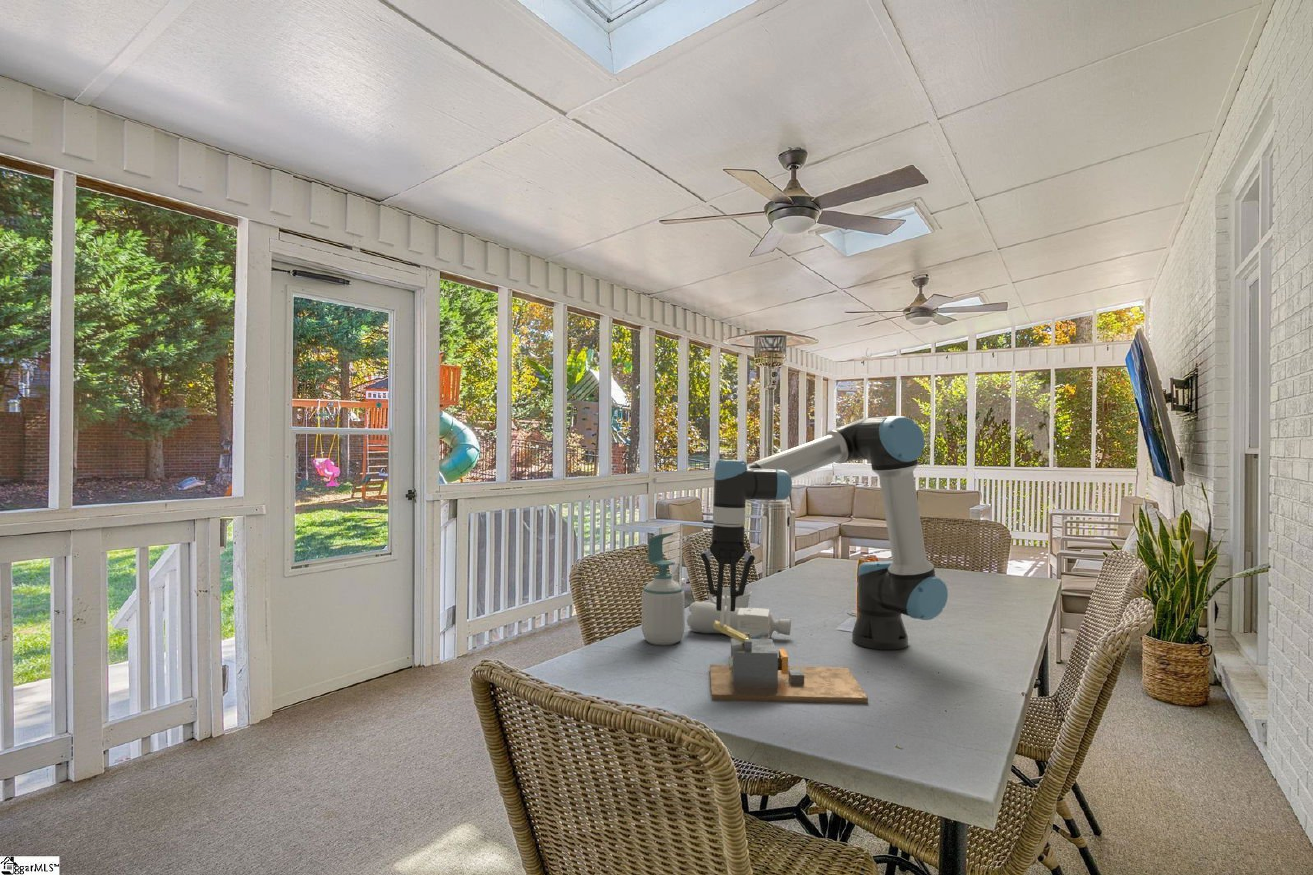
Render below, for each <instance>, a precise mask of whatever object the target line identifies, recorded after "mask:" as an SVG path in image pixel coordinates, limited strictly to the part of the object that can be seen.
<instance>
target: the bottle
mask: <svg viewBox="0 0 1313 875" xmlns="http://www.w3.org/2000/svg"><path fill="white" fill-rule="evenodd" d="M739 609H740V608H736V607H735V611H734V612H733V611H730V626H729V627H731V628H733V629H735V630H737V613H738V611H739ZM688 611H689V612H690V614H689V615H688V616H687V619H686V621H687V623H686V624H687V625H688V627H689V629H690V630H691V631H692V632H693V633H701V634H720V635H725V634H724V633H722V632H720V631H718V630H717V629H715V628H714V625H713V623H714V621H715V620H717V621H719V622H720V620H721V611H717V609H716V604H714V603H712V602H708V601H707V602H706V601H698V600H696V601H694V602H692V603H691V604H689V607H688ZM726 613H727V606H725V612H724V624H725V625H726ZM769 615H770V637H772V636H773V633H774V632H777V634H778V635H780V634H782V635H786V636H791V629H792V628H791V627H792V625H791V624H792V620H791V618H787V619H785V618H783V619H782V618H779V619H775V618H774V615H773V614H772V613H771V612H769ZM770 637H769V638H770Z"/></svg>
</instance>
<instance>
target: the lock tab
mask: <svg viewBox="0 0 1313 875" xmlns="http://www.w3.org/2000/svg"><path fill="white" fill-rule="evenodd" d="M713 625H714V628H715V629H717V630H718V631H720V632H722V633H724V634H723V635H726V636H729V637H731V638H734V639H736V640H738V641H740V642H742V643H744V640H749V637H748V635H744V634H742V633H741V632H739V631H737V630H735V629H733V628H731V627H729V626H726V625H725V624H724V626H721V624H720V622H719V621H717V620H715V621H714V623H713Z"/></svg>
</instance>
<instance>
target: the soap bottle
mask: <svg viewBox="0 0 1313 875" xmlns="http://www.w3.org/2000/svg"><path fill="white" fill-rule="evenodd" d="M672 535H674V533H673V532H669V533H660V534H657V535H655V536H651V537H650V538H648V543H647V544H648V546H647V547H648V548H647V550H648V551H647V553H648V556H647V557H648V558H647V559H648V562H649V564H650V565H654V566H656V569H658V570H659V573H655V574H654V575H653V577H654V578H653V579H652V580H651V581H650V582H648V583H647V584H646V585H644V586H643V587H642V589H643V590H642V591H641V632H642V635H643V637H644V639H645V641H646V642H648V643H649V644H652V645H655V646H671V645H672V646H673V645H675V644H677V643H678V642H680V641H681V639H682V638H683V636H684V632H685V626H686V625H685V622H686V621H685V620H686V618H685V616H686V615H685V591H684V588H683V586H682V585H680V584H679V583H678V582H677V581H675V580H674V579H673V575H672V574H671V573H668V572H667V570H668V569H670V566H673V565H675V564H676V562H675V561H670V560H665V559H664V557H663V540H664V539H665V538H667V537H669V536H672Z"/></svg>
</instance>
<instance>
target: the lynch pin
mask: <svg viewBox="0 0 1313 875" xmlns="http://www.w3.org/2000/svg"><path fill="white" fill-rule="evenodd" d="M728 665H729V670H733V657H731V656H728ZM788 666H789V656H788V654H787V651H786V649H785V648H778V671H781V673H782V674H788Z"/></svg>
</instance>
